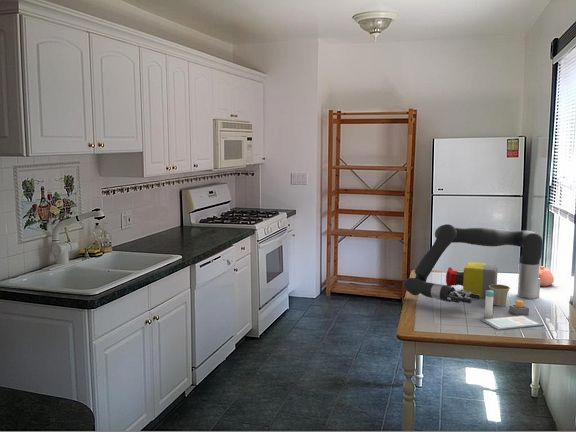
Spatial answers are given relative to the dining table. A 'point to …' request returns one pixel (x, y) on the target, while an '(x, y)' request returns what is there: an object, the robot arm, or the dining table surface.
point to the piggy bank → (545, 276)
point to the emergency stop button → (474, 277)
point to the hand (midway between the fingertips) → (475, 299)
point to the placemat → (511, 322)
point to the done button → (519, 303)
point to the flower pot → (499, 294)
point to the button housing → (518, 310)
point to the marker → (489, 303)
